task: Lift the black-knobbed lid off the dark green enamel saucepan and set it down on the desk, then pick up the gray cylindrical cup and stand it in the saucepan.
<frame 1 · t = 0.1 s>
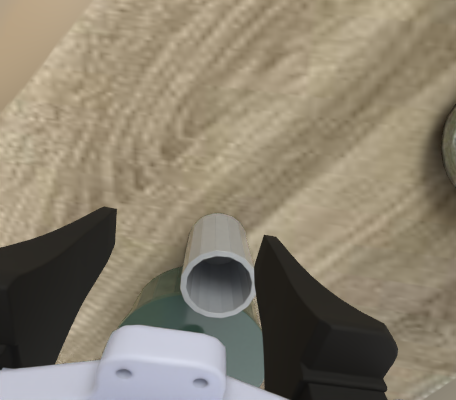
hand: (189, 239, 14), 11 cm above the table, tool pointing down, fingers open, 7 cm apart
pot: (194, 319, 28), on the table
gray cylindrical cup: (217, 239, 26), on the table
pot lid: (190, 358, 25), point 4 cm above the table, touching pot
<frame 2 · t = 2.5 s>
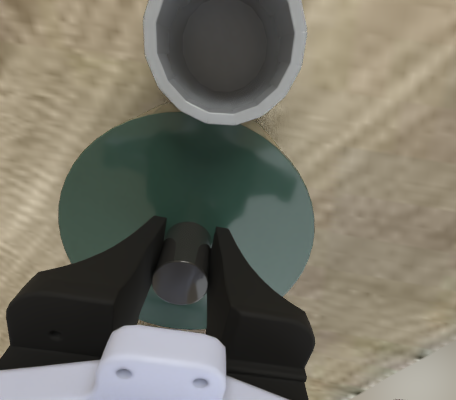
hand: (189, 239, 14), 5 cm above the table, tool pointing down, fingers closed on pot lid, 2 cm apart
pot: (197, 194, 19), on the table
gray cylindrical cup: (224, 47, 15), on the table
pot lid: (189, 235, 16), point 4 cm above the table, touching gripper, pot
when the fingers open (2 cm above the table, at t = 7.3 s): pot lid stays where it is, point 1 cm above the table.
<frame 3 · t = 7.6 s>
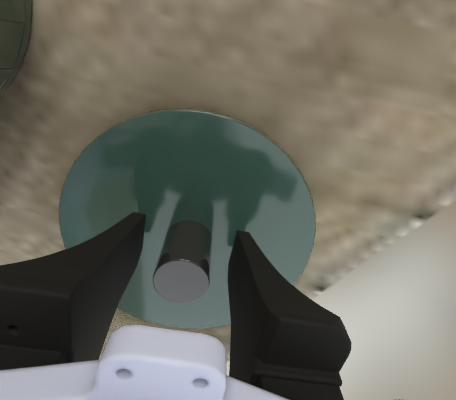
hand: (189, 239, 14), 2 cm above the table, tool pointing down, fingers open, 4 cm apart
pot lid: (190, 234, 16), point 1 cm above the table
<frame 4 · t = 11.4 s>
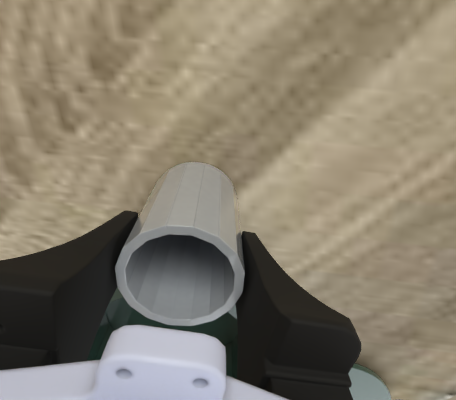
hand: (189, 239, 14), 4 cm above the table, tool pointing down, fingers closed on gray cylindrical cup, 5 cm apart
pot: (177, 304, 22), on the table
gray cylindrical cup: (195, 201, 18), on the table, touching gripper
when the fingers open (4 cm above the table, at t = 15.5 s): gray cylindrical cup stays where it is, resting on pot.
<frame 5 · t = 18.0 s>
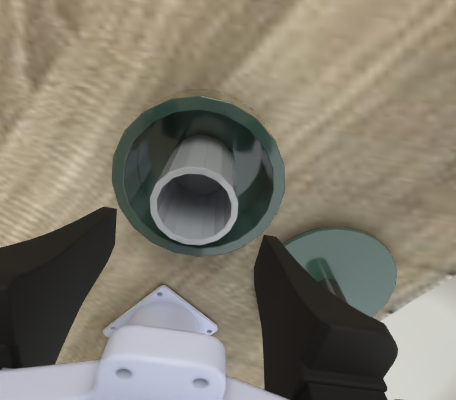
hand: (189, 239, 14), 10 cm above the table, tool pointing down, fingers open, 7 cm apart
pot: (202, 166, 24), on the table
gray cylindrical cup: (202, 166, 23), resting on pot
pot lid: (324, 284, 29), point 1 cm above the table
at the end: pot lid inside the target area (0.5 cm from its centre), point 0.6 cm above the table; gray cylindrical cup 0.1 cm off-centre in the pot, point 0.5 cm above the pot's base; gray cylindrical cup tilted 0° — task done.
